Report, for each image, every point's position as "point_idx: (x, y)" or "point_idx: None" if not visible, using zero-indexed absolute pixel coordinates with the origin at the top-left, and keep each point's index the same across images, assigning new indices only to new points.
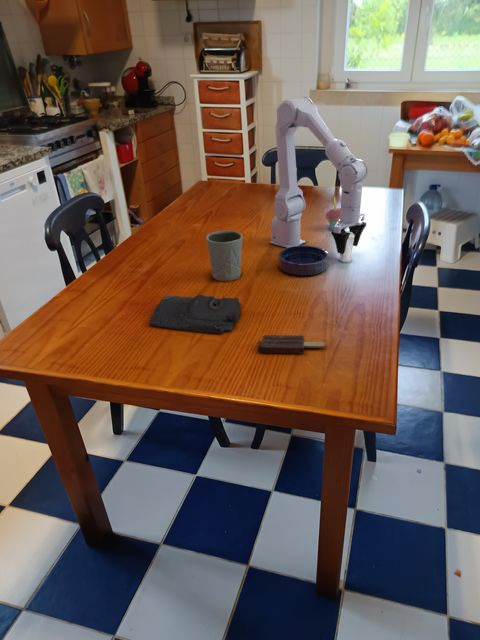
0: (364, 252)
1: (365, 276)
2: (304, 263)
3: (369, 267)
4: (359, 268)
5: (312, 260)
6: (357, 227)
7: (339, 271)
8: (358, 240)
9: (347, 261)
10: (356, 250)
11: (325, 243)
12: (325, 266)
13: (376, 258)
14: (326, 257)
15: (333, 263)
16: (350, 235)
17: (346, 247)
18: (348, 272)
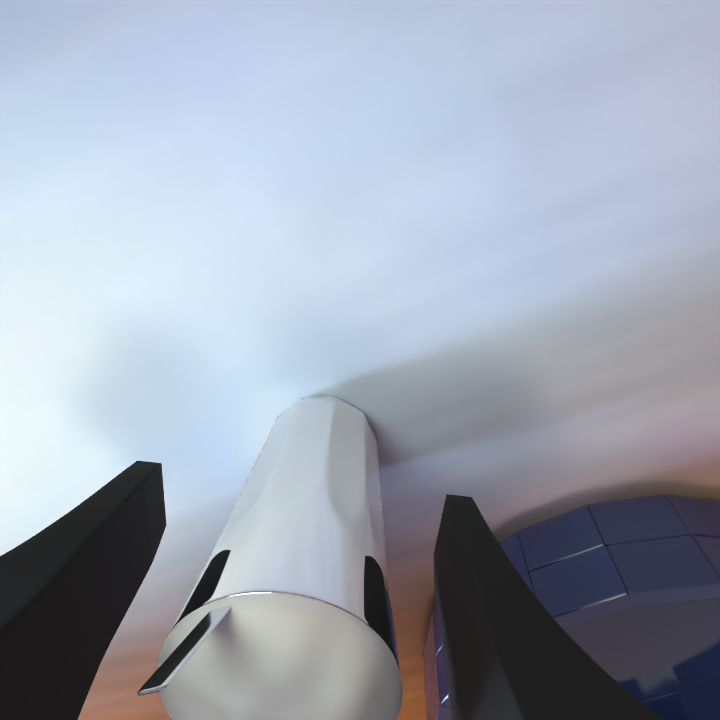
0: (27, 361)
1: (640, 76)
2: (592, 657)
3: (357, 148)
4: (441, 240)
5: None
6: (6, 714)
7: (603, 384)
8: (108, 499)
9: (354, 409)
10: (43, 440)
11: (104, 668)
12: (690, 520)
13: (70, 183)
14: (673, 595)
15: (444, 493)
16: (324, 665)
17: (376, 534)
18: (595, 300)
